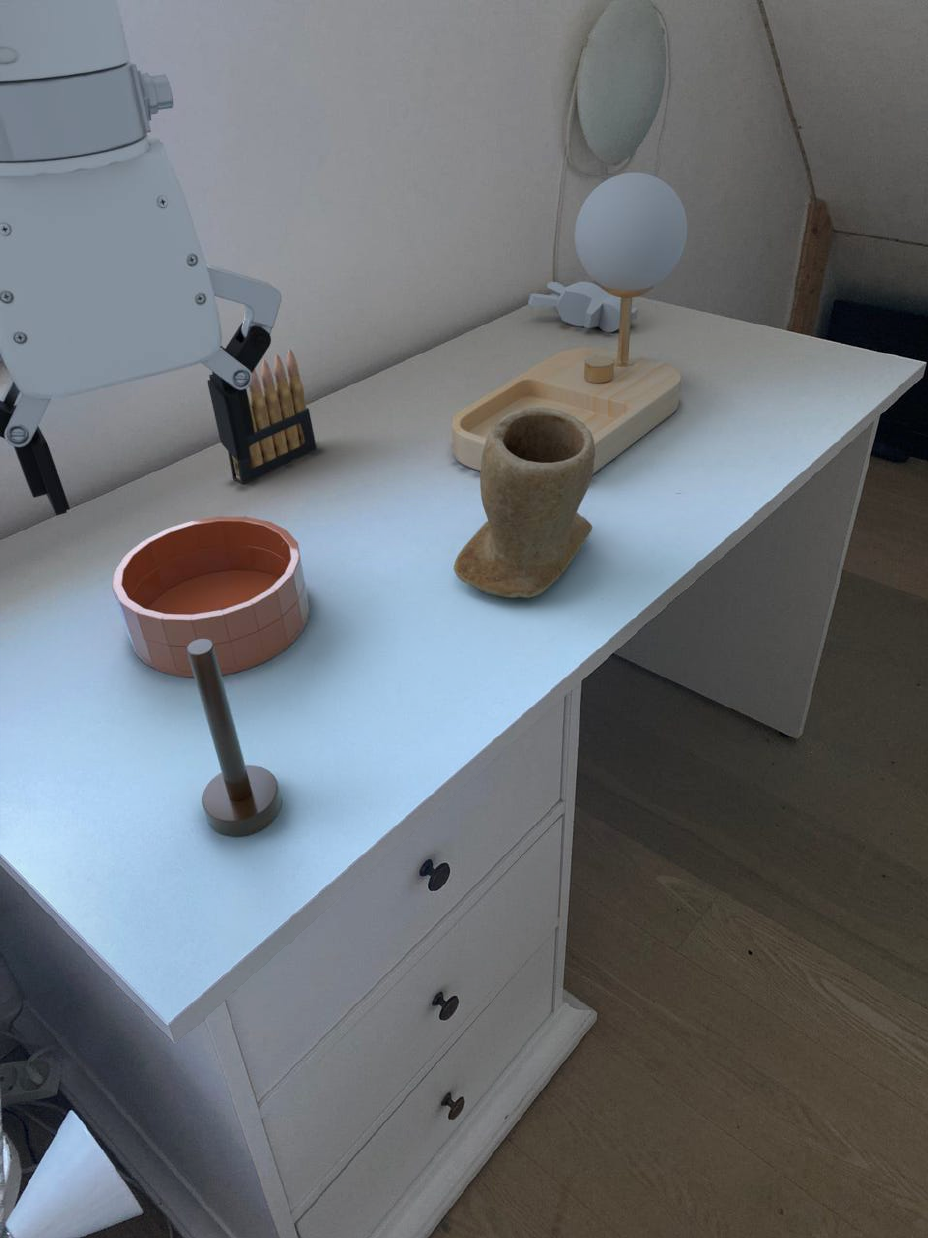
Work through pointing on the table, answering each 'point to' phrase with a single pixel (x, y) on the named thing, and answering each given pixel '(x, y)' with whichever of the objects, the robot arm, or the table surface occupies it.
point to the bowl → (213, 593)
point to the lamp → (615, 380)
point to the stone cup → (529, 503)
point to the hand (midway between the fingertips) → (150, 476)
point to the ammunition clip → (276, 422)
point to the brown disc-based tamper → (230, 758)
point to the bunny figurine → (583, 305)
